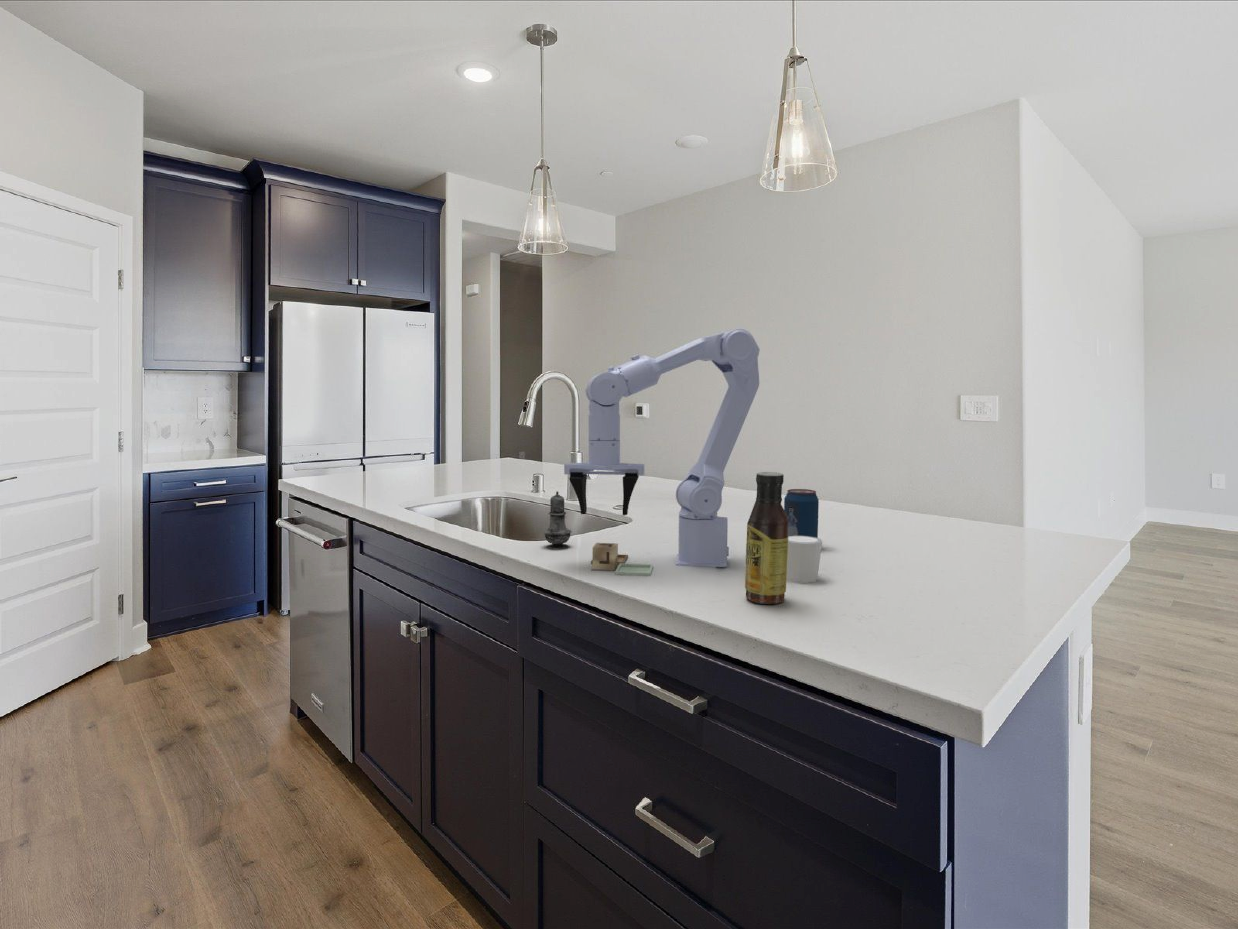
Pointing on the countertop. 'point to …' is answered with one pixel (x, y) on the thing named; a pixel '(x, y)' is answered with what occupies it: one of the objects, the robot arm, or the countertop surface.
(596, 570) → the slate mat
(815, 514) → the soda can
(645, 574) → the stoneware dish
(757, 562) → the sauce bottle
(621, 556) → the walnut dish
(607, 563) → the letter cube
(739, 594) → the countertop surface
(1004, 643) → the countertop surface
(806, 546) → the white tapered cylinder
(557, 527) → the salt shaker
